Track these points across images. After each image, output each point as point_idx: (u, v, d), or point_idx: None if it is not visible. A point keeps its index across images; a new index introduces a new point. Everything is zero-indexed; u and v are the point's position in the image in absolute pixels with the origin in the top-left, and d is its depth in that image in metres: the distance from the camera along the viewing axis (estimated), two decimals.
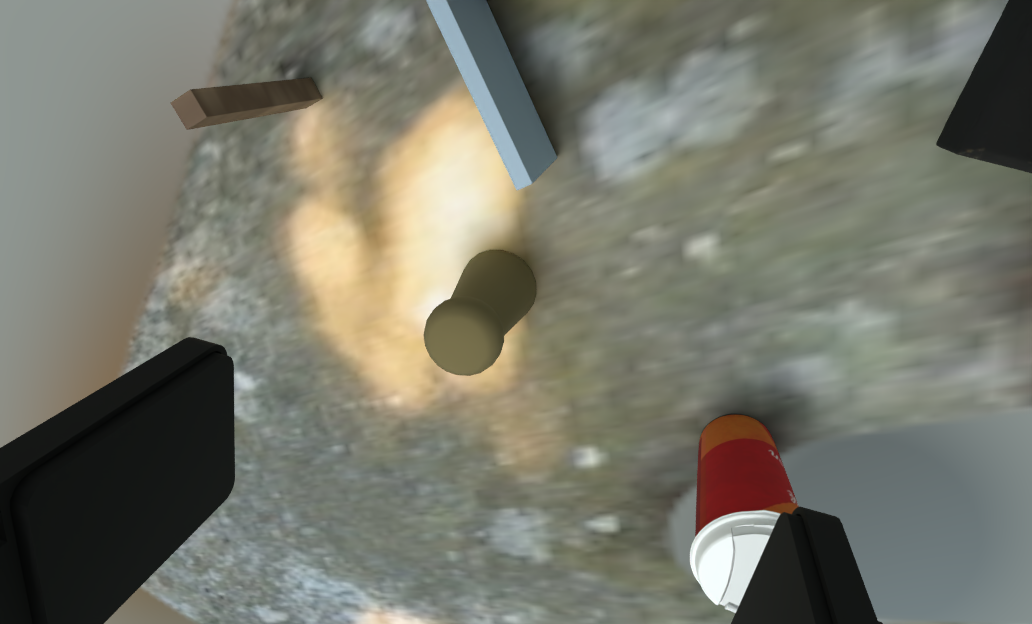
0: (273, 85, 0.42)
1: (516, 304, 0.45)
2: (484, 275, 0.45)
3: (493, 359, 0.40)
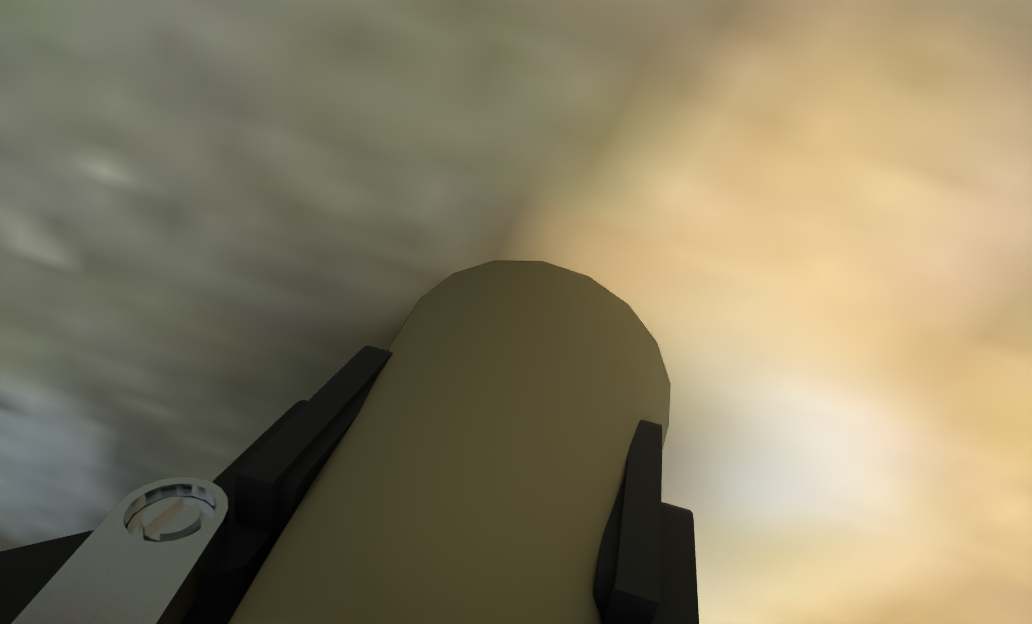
0: None
1: None
2: None
3: None
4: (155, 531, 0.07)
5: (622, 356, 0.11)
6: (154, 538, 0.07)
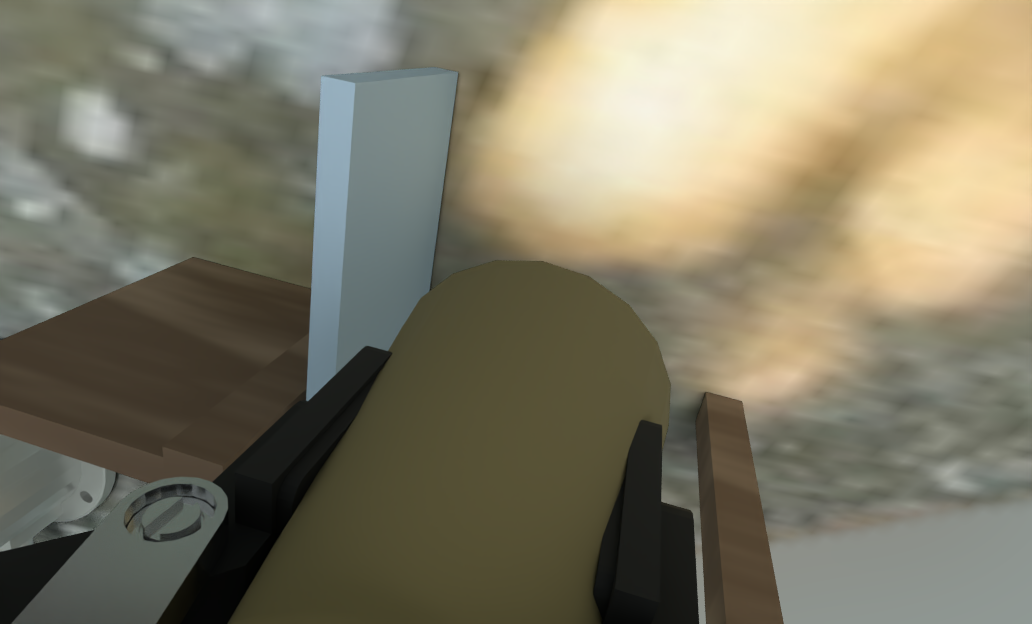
0: (701, 486, 0.24)
1: None
2: None
3: None
4: (155, 531, 0.07)
5: (622, 356, 0.11)
6: (154, 538, 0.07)
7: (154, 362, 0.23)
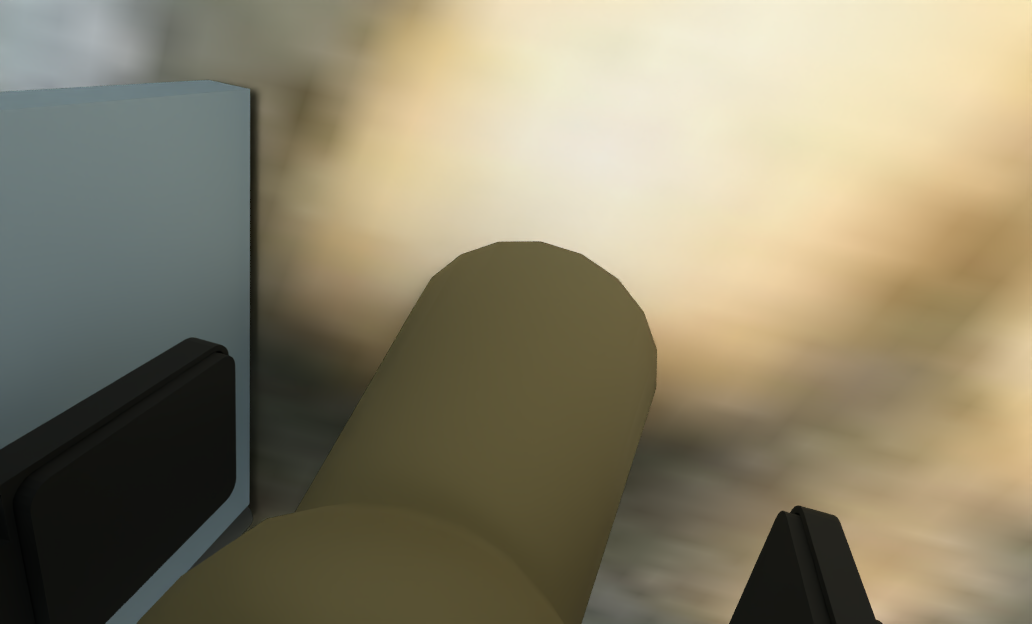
0: None
1: (350, 417, 0.11)
2: None
3: None
4: None
5: (611, 321, 0.12)
6: None
7: None
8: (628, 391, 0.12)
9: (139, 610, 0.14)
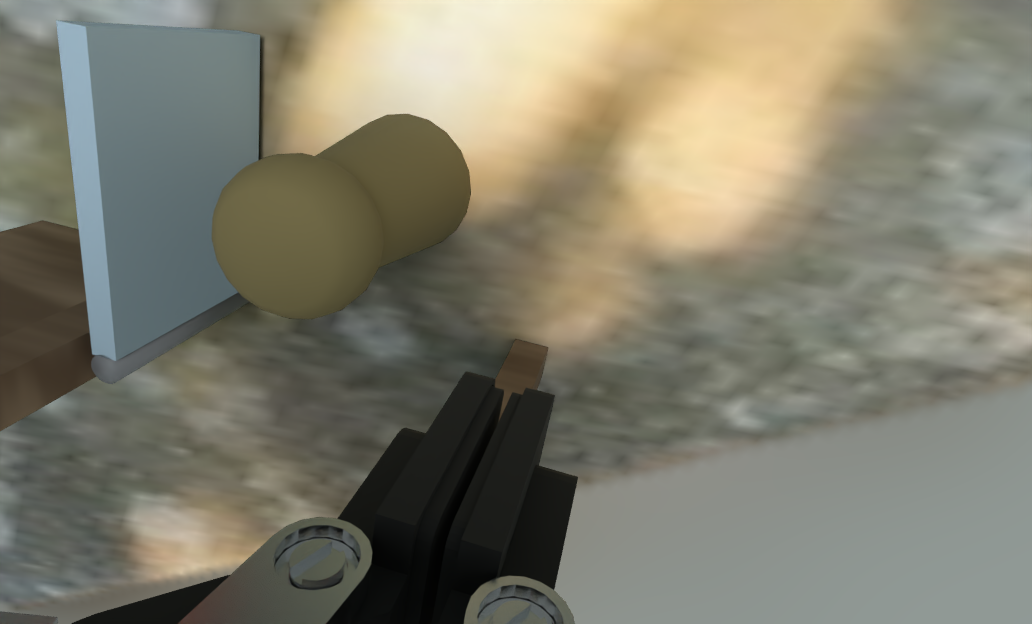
0: None
1: None
2: None
3: (239, 174, 0.19)
4: (299, 574, 0.07)
5: (435, 145, 0.26)
6: (296, 582, 0.07)
7: None
8: (437, 173, 0.25)
9: (202, 305, 0.28)
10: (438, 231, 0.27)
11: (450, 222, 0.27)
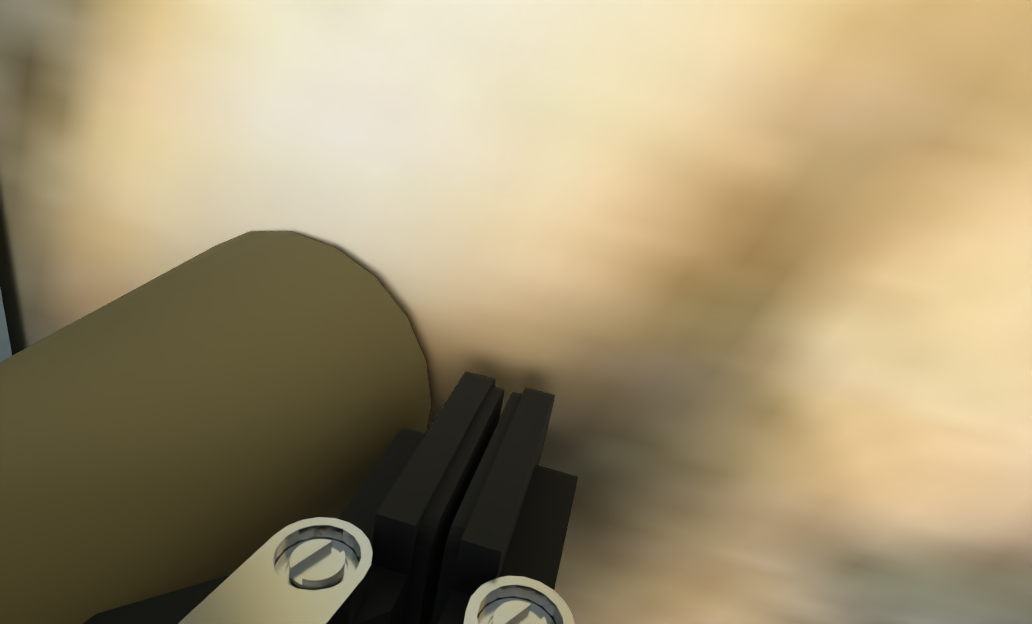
0: None
1: None
2: None
3: None
4: (299, 573, 0.07)
5: (329, 322, 0.11)
6: (297, 581, 0.07)
7: None
8: (322, 405, 0.10)
9: None
10: None
11: None
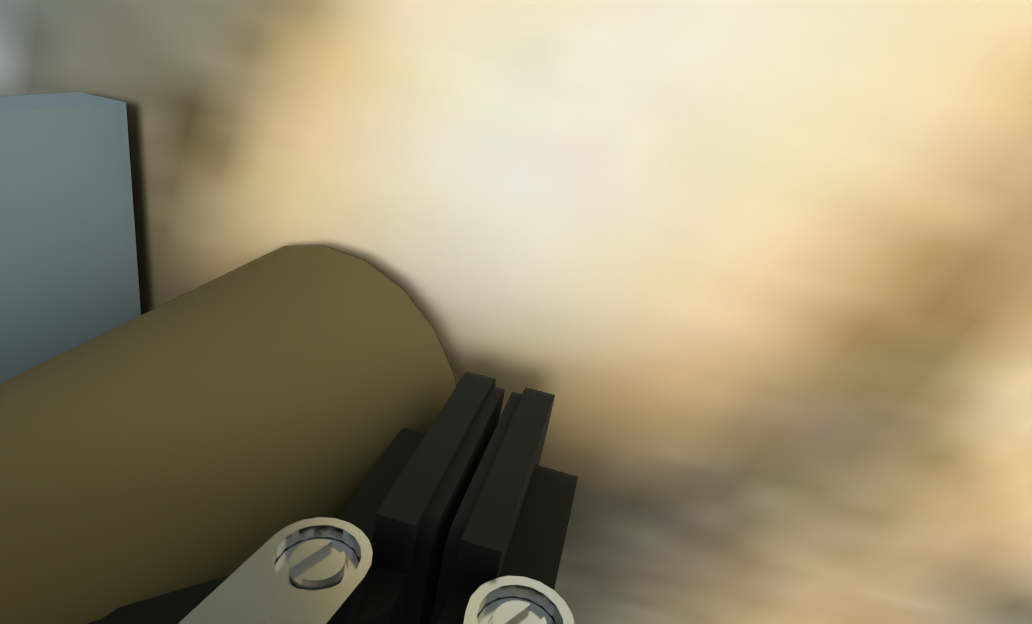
0: None
1: None
2: None
3: None
4: (299, 573, 0.07)
5: (351, 335, 0.10)
6: (297, 581, 0.07)
7: None
8: (339, 419, 0.09)
9: None
10: None
11: None
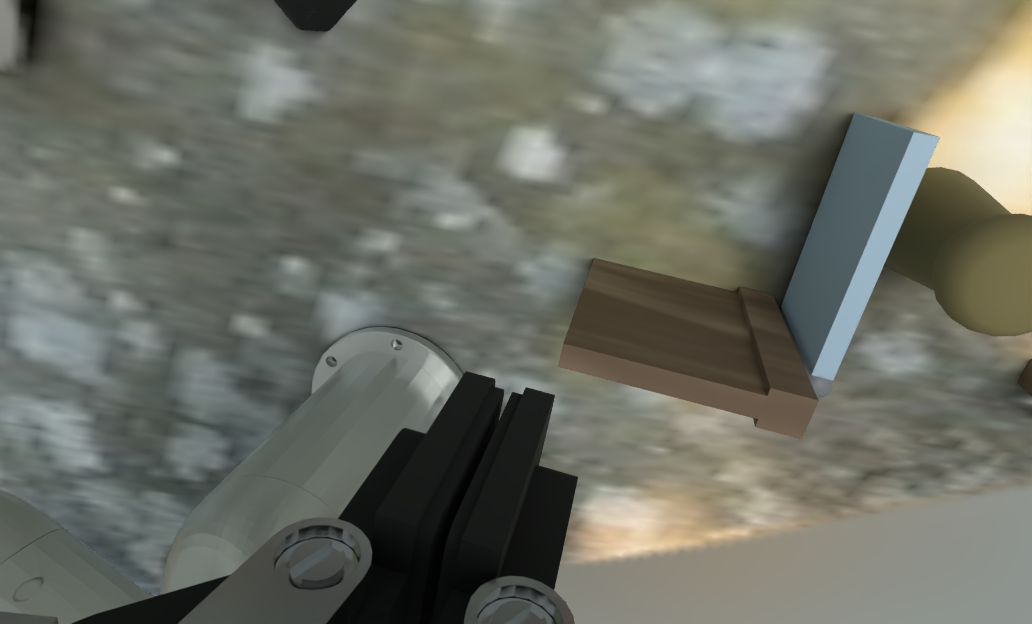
0: None
1: (910, 225, 0.31)
2: (915, 279, 0.32)
3: (994, 232, 0.26)
4: (299, 573, 0.07)
5: None
6: (297, 581, 0.07)
7: (678, 335, 0.31)
8: None
9: None
10: None
11: None
